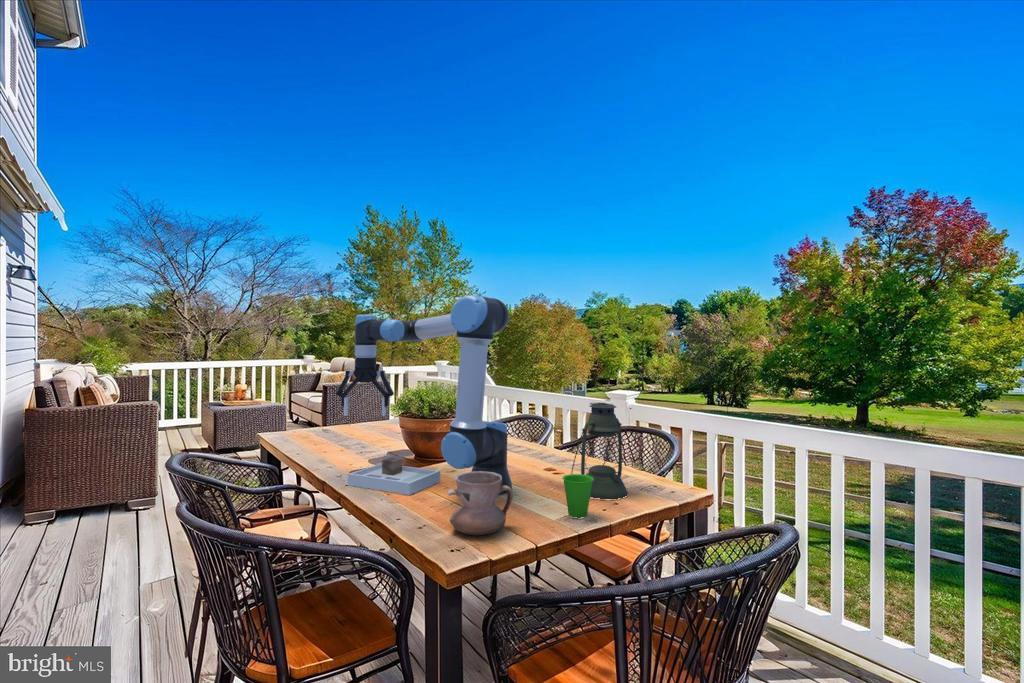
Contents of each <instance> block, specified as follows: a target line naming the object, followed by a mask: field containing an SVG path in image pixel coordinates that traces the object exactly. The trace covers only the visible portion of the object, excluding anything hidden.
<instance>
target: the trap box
mask: <svg viewBox="0 0 1024 683" xmlns="http://www.w3.org/2000/svg"><path fill="white" fill-rule="evenodd" d="M438 482H439V483H441V470H435V469H428V468H421V467H413V466H406V465H402V472H401V473H399V474H396V475H386V474H382V462H381V463H379V464H378V463H377V464H374V465H372V466H368V467H365V468H363V469H360V470H357V471H353V472H350V473H347V486H348V485H350V486H349V487H354V486H356V488H360V487H363V488H362V489H366V488H370V489H369V490H372V489H376V490H375V491H378V490H383V491H382V492H384V491H389V492H388V493H390V492H395V493H394V494H396V493H400V494H399V495H402V494H406V495H405V496H408V495H410V496H411V494H412V495H414V494H416V492H417V493H419V492H421V491H423V490H425V488H426V489H428V488H430V487H432V486H435V485H436V483H437V484H439V483H438ZM434 484H435V485H434ZM429 486H430V487H429ZM427 487H428V488H427ZM422 489H423V490H422ZM420 490H421V491H420ZM418 491H419V492H418ZM413 493H414V494H413Z"/></svg>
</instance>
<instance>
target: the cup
mask: <svg viewBox="0 0 1024 683" xmlns="http://www.w3.org/2000/svg"><path fill="white" fill-rule="evenodd" d="M562 480H563V484H564V493H565V497H566V506H567V512H568V516H569V515H570V516H572V517H577V518H581V517H586V518H587V516H588V513H589V512H588V511H589V505H590V500H591V499H590V494H591V488H592V482H593V481H594V479H593V477H591V476H588V475H586V474H585V475H582V474H581V473H572V474H571V473H569V474H565V475H563V476H562ZM570 516H569V517H570Z"/></svg>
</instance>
